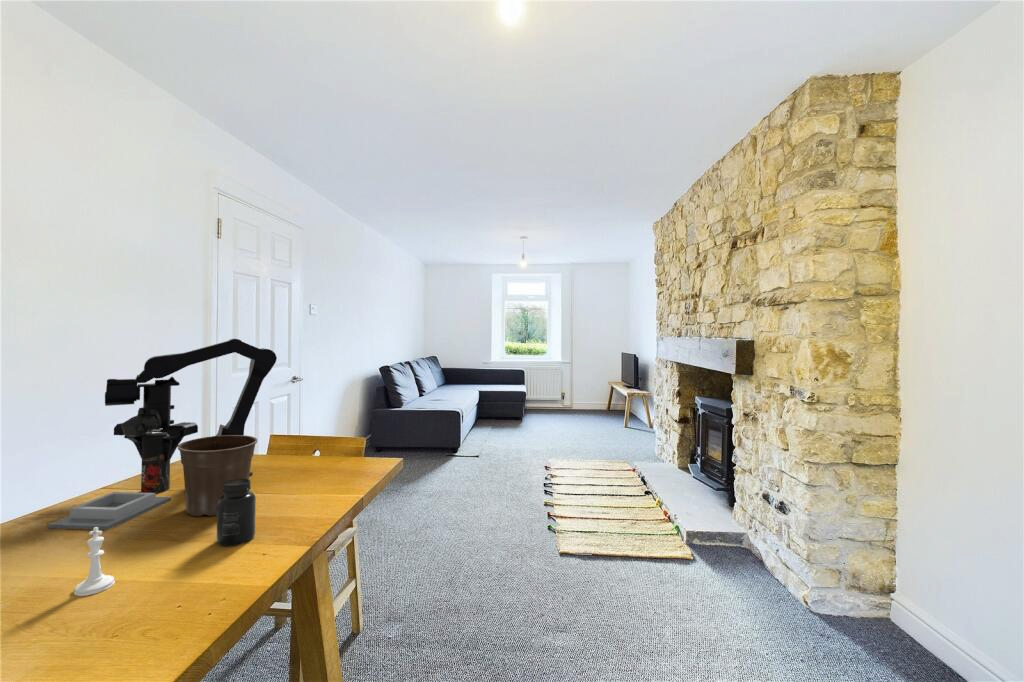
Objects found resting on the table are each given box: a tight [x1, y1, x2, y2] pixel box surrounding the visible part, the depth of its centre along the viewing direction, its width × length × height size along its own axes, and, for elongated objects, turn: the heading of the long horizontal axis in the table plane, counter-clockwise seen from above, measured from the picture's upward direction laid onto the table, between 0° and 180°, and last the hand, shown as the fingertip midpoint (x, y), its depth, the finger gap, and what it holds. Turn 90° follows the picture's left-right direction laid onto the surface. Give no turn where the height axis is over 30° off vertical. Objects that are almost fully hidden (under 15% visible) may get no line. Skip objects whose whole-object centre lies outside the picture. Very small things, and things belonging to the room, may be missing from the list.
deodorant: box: [140, 432, 171, 495], centre depth 116 cm, size 6×6×15 cm
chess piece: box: [73, 527, 115, 597], centre depth 72 cm, size 5×5×10 cm
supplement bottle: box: [216, 478, 257, 547], centre depth 90 cm, size 7×7×12 cm
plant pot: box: [177, 434, 258, 517], centre depth 106 cm, size 16×16×16 cm
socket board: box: [47, 491, 172, 531], centre depth 101 cm, size 13×17×3 cm
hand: (156, 460), depth 116 cm, fingers closed on deodorant, 6 cm apart
